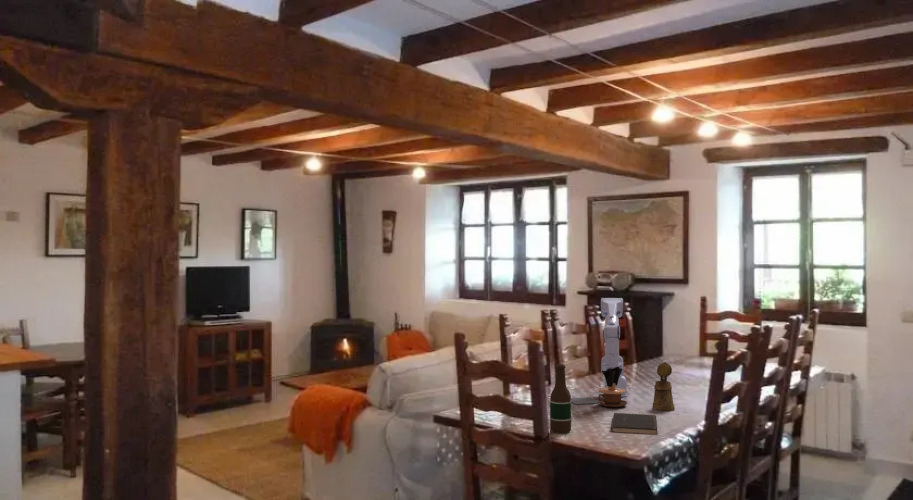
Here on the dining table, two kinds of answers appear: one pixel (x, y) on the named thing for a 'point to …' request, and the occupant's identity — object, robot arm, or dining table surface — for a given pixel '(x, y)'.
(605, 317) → the robot arm
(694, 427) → the dining table surface
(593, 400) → the coaster
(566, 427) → the beer bottle
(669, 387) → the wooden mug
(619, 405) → the cup and saucer
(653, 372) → the dining table surface
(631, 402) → the dining table surface
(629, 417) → the hardcover book
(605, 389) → the lid
